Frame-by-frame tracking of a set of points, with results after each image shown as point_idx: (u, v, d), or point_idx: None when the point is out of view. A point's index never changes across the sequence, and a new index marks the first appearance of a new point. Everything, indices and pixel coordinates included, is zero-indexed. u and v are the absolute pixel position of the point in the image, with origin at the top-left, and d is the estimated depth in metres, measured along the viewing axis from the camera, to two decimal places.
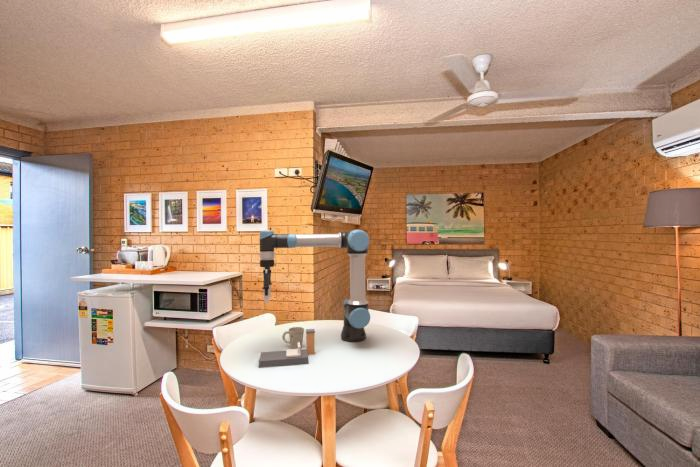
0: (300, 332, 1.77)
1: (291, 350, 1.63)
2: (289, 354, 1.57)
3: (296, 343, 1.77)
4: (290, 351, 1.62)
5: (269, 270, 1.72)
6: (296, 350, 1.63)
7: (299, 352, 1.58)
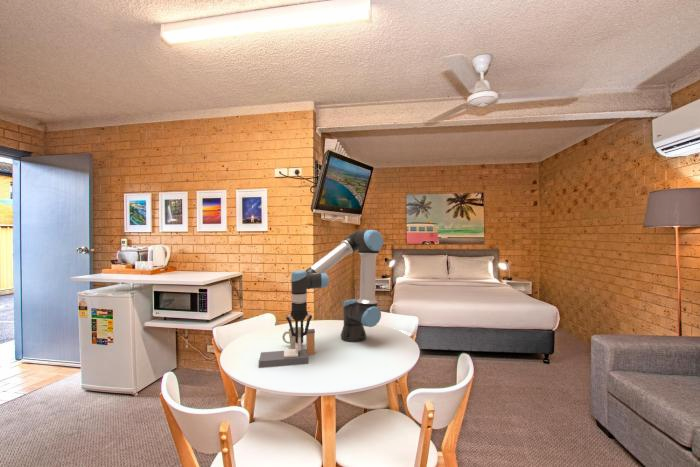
0: (300, 332, 1.77)
1: (289, 351, 1.62)
2: (287, 354, 1.57)
3: None
4: (288, 351, 1.61)
5: (295, 314, 1.60)
6: (294, 350, 1.63)
7: (297, 352, 1.58)
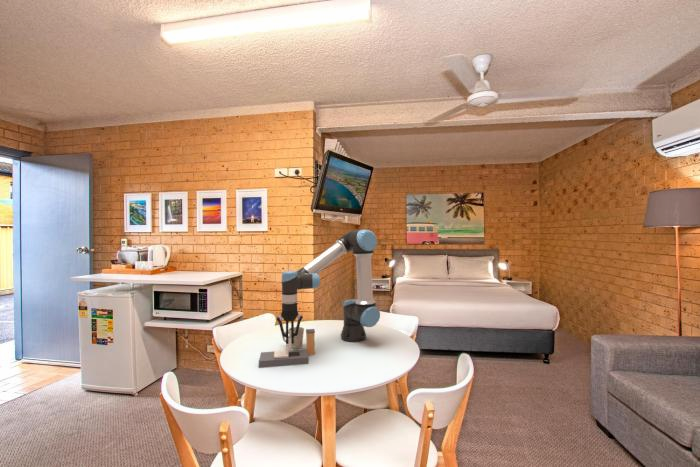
0: (300, 332, 1.77)
1: (279, 351, 1.61)
2: (277, 355, 1.56)
3: (296, 343, 1.77)
4: (278, 352, 1.61)
5: (286, 315, 1.59)
6: (284, 351, 1.62)
7: (287, 353, 1.57)
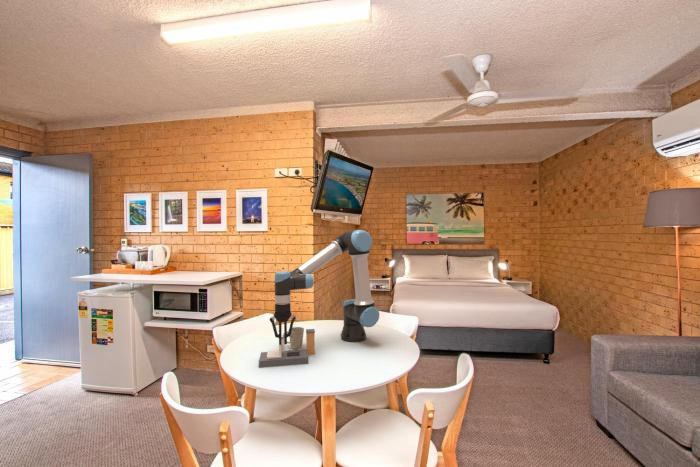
0: (300, 332, 1.77)
1: (272, 352, 1.61)
2: (270, 355, 1.56)
3: (296, 343, 1.77)
4: (271, 352, 1.60)
5: (279, 316, 1.58)
6: (277, 351, 1.61)
7: (280, 353, 1.56)
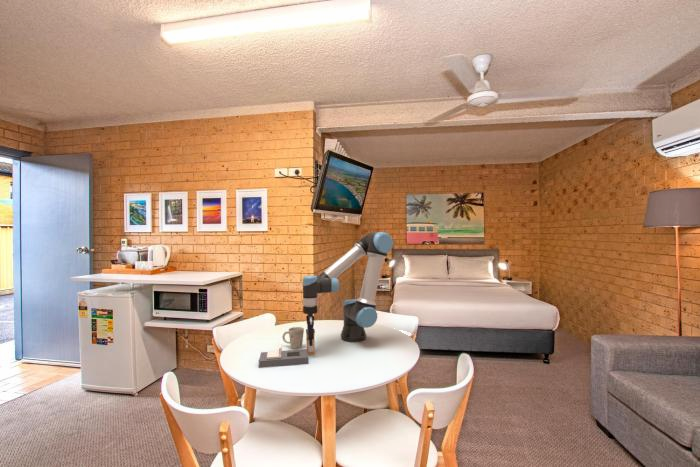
0: (300, 332, 1.77)
1: (272, 352, 1.61)
2: (270, 355, 1.56)
3: (296, 343, 1.77)
4: (271, 352, 1.60)
5: (312, 317, 1.69)
6: (277, 351, 1.61)
7: (280, 353, 1.56)
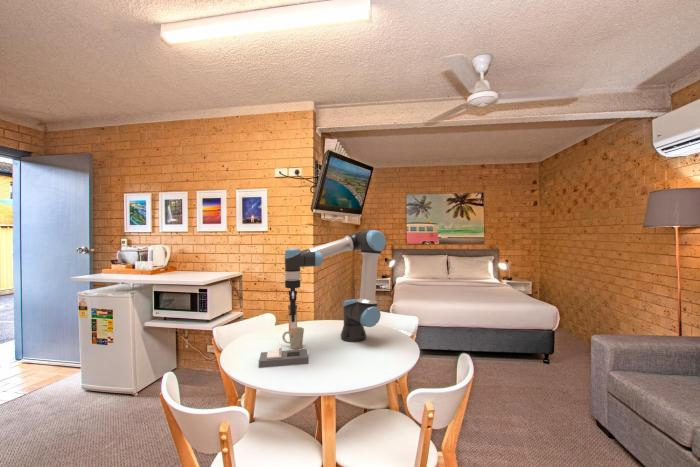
0: (300, 332, 1.77)
1: (272, 352, 1.61)
2: (270, 355, 1.56)
3: (296, 343, 1.77)
4: (271, 352, 1.60)
5: (295, 292, 1.60)
6: (277, 351, 1.61)
7: (280, 353, 1.56)
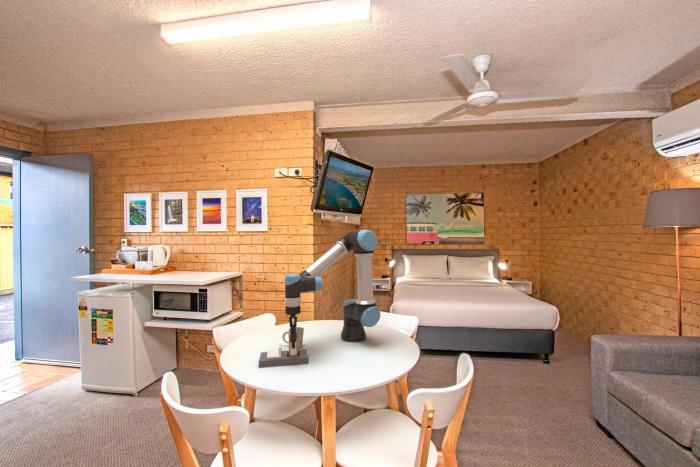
0: (300, 332, 1.77)
1: (272, 352, 1.61)
2: (270, 355, 1.56)
3: None
4: (271, 352, 1.60)
5: (295, 318, 1.60)
6: (277, 351, 1.61)
7: (280, 353, 1.56)
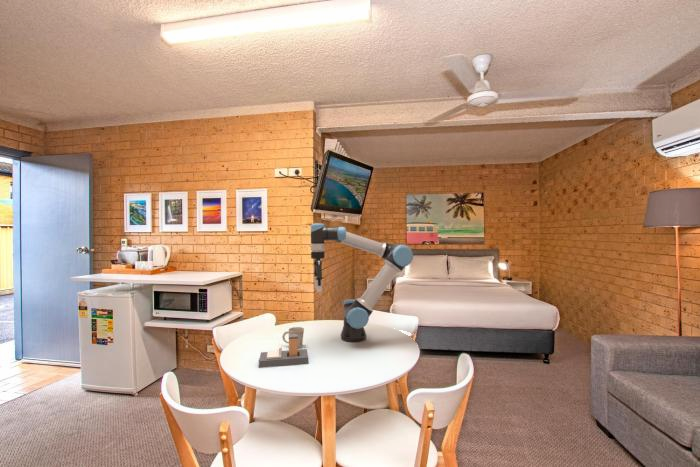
0: (300, 332, 1.77)
1: (272, 352, 1.61)
2: (270, 355, 1.56)
3: None
4: (271, 352, 1.60)
5: None
6: (277, 351, 1.61)
7: (280, 353, 1.56)
